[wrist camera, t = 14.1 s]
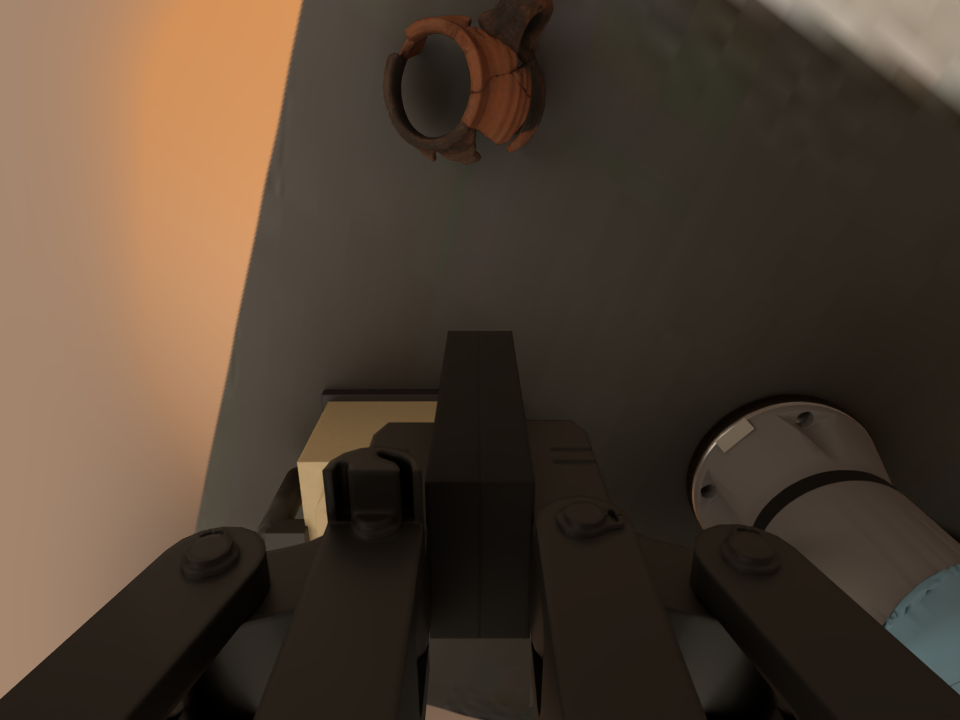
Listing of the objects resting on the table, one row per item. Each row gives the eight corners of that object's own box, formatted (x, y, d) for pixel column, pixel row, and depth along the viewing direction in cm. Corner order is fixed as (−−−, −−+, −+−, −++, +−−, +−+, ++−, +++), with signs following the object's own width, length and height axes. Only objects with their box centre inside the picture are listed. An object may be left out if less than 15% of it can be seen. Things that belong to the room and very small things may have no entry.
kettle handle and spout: (534, 389, 50) (549, 460, 40) (529, 523, 55) (541, 617, 45) (287, 389, 50) (238, 460, 40) (304, 524, 55) (264, 618, 45)
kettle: (490, 394, 50) (493, 474, 39) (489, 518, 55) (492, 621, 43) (330, 394, 50) (288, 475, 39) (342, 518, 55) (308, 622, 43)
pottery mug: (508, 191, 45) (445, 197, 38) (420, 110, 46) (346, 102, 40) (614, 34, 38) (561, 8, 31) (508, -53, 40) (437, -96, 33)
